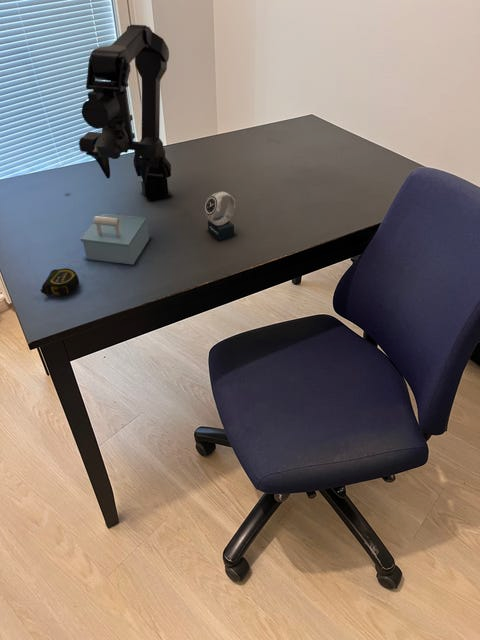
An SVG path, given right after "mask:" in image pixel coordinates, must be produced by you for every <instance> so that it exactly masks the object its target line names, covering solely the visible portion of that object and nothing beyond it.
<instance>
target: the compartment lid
mask: <svg viewBox="0 0 480 640" xmlns="http://www.w3.org/2000/svg"><path fill="white" fill-rule="evenodd" d="M147 219H148V218H147V217H144V216H143V217H142V216H134V215H133V216H132V215H124V214H117V213H115V214H114V213H105V212H101V213H100V214H99V216H97V215H95V216H94V217H93V223H92V224H91V225H90V227H88V228H87V230H86V231H85V232H84V233H83V235H81V237H80V242H82V243H83V242H90V243H99V244H107V245H116V246H124V247H129V246H130V245H131V243H132V242H133V240H134V239H135V237H136V236H137V234H138V233H139V231H140V230H141V228H142V227H143V225H144V224H145V222H146V221H147V222H148V220H147Z"/></svg>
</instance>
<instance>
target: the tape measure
mask: <svg viewBox="0 0 480 640" xmlns="http://www.w3.org/2000/svg"><path fill="white" fill-rule="evenodd" d="M79 285H80V279H79V276H78V274H77V272H76V271H75V270H73V269H72V268H67V267H65V268H57V269H52V270H50V272H49V275H48V276H47V278H46V279H45V281H44V282H43V284H42V286H41V288H40V292H41V294H44V295H45V296H50V297H51V296H53V295H54V296H56V297H63V296H68V295H71V294H73V293H74V292H75V291H77V290H78V288H79Z"/></svg>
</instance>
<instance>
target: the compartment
mask: <svg viewBox="0 0 480 640" xmlns="http://www.w3.org/2000/svg"><path fill="white" fill-rule="evenodd" d="M149 240H150V235H149V226H148V220H147V221H146V222H145V224H144V225H143V227H142V228H141V230H140V231H139V233H138V234H137V236H136V237H135V239H134V240H133V242H132V243H131V245H130V246H129V247H124V246H116V245H107V244H99V243H90V242H82V245H83V250H84V253H85V256H86V259H87V260H91V261H99V262H107V263H108V262H109V263H116V264H125V265H131V266H132V265H134V264H135V263H136V261H137V260H138V258H139V256H140V255H141V253H142V252H143V249H144V248H145V247H146V246H147V243H148V242H149Z"/></svg>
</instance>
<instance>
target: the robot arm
mask: <svg viewBox="0 0 480 640" xmlns="http://www.w3.org/2000/svg"><path fill="white" fill-rule="evenodd" d="M169 59H170V50H169V47H168V44H167V43H166V41H165V40H164V38H163V37H161V36H160V35H158V34H156V33H155V32H153V30H152V29H151V27H150V26H148V25H145V24H130V25H127V26H126V30H125V31H124V32H123V33H122V34H121V35H120V36H119V37H118V38H117V39H116V40H115V41H113V43H112V44H110V45H104V46H99V47H97V48H94V49H93V50H92V52H91V53H90V55H89V57H88V65H87V74H86V83H85V88H86V90H92V91H89V92H87V98H88V99H87V100H85V101H84V102H83V104H82V106H81V116H82V118H83V120H84V122H85V123H86V124H87V125H88V126H89V127H91V128H93V129H97V130H99V129H101V132H97V131H96V132H95V131H88V132H87V133H85V134H84V135H83V136H81V137H80V138H79V139H78V147H79V151H80V152H82V153H85V154H86V156H89V157H92V158H93V159H94V160H95V161H96V163H97V164H98V165H99V167H100V169H101V171H102V172H103V174H104V176H105V177H106V179H110V178H111V166H110V159H112V160H118V159H119V158H120V157H121V154H122V153H125V154H126V153H128V152H129V151H134V155H133V167H134V170H135V172H136V175H137V177H141V180H140V183H141V193H142V194H143V196H145V198H147V200H148V201H150V202H154V201H158V200H161V199H166V198H170V197H171V196H172V194H171V193H170V192H169V185H168V178H170V177H172V164H171V163H170V161H169V160H168V158H167V157H166V150H165V148H164V142H163V141H162V139H161V138H160V125H161V124H160V123H161V122H160V121H161V120H160V118H161V117H160V115H161V114H160V112H161V105H160V104H161V80H162V79H163V76H164V75H165V73H166V72H167V69H168V62H169ZM133 60H134V66H135V68H136V71H137V73H138V74H139V76H140V79H141V135H140V136H141V138H140V141H134V139H135V138H136V134H135V132H133V129H132V128H133V127H132V121H133V120H134V119H133V114H131V112H130V106H129V98H128V97H129V96H128V89H127V88H128V87H129V78H130V74H131V62H132V61H133Z"/></svg>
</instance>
